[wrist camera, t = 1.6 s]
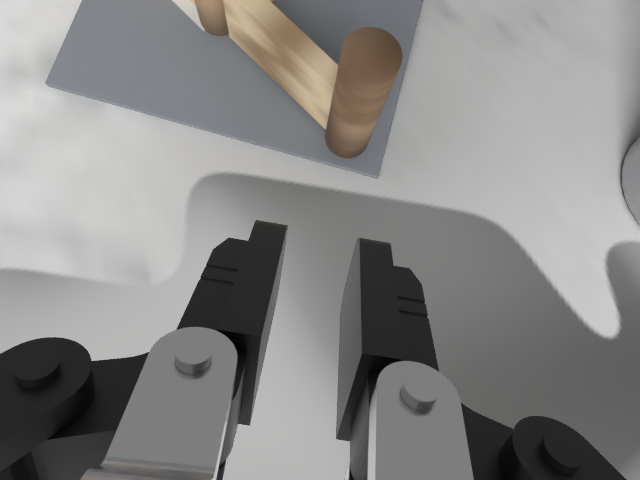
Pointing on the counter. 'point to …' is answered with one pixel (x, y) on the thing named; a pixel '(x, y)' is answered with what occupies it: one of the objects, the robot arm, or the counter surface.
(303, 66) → the plank with upright peg
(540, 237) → the counter surface
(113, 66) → the board
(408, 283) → the robot arm
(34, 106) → the counter surface
